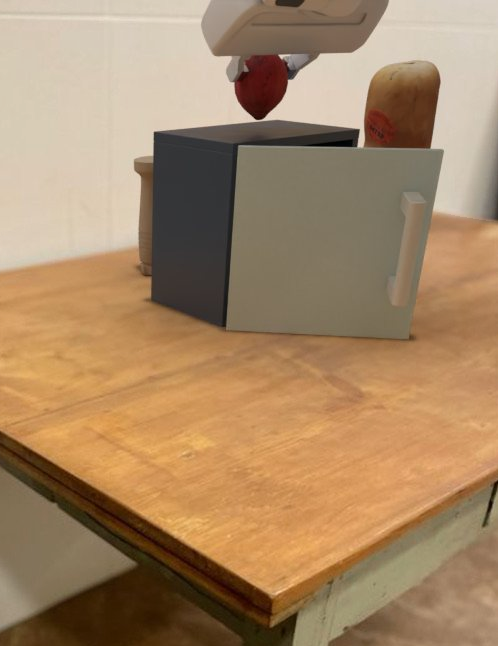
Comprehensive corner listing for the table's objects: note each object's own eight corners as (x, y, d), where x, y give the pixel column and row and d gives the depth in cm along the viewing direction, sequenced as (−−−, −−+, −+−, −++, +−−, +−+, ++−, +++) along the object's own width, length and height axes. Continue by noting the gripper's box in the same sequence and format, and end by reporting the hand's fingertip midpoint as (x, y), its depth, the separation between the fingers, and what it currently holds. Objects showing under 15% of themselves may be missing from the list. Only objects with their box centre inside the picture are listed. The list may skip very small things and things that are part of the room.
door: (414, 363, 85) (455, 158, 74) (222, 353, 88) (235, 154, 77) (406, 341, 90) (442, 148, 80) (226, 332, 93) (238, 145, 83)
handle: (175, 269, 117) (178, 156, 109) (160, 281, 112) (162, 163, 104) (144, 266, 119) (145, 154, 111) (127, 277, 114) (127, 161, 106)
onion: (268, 124, 89) (274, 39, 84) (223, 121, 92) (226, 39, 87) (293, 119, 92) (300, 37, 88) (248, 116, 95) (253, 37, 91)
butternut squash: (327, 222, 144) (347, 60, 130) (375, 212, 151) (399, 57, 137) (392, 236, 134) (421, 63, 121) (440, 225, 141) (473, 60, 128)
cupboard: (336, 301, 104) (360, 129, 93) (221, 333, 93) (233, 143, 83) (263, 279, 113) (277, 119, 102) (150, 306, 102) (153, 131, 92)
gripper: (396, -58, 82) (319, 50, 95) (232, -66, 74) (171, 54, 86) (421, -7, 82) (340, 96, 94) (258, -9, 73) (193, 104, 85)
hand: (258, 76), depth 90 cm, fingers closed on onion, 5 cm apart
